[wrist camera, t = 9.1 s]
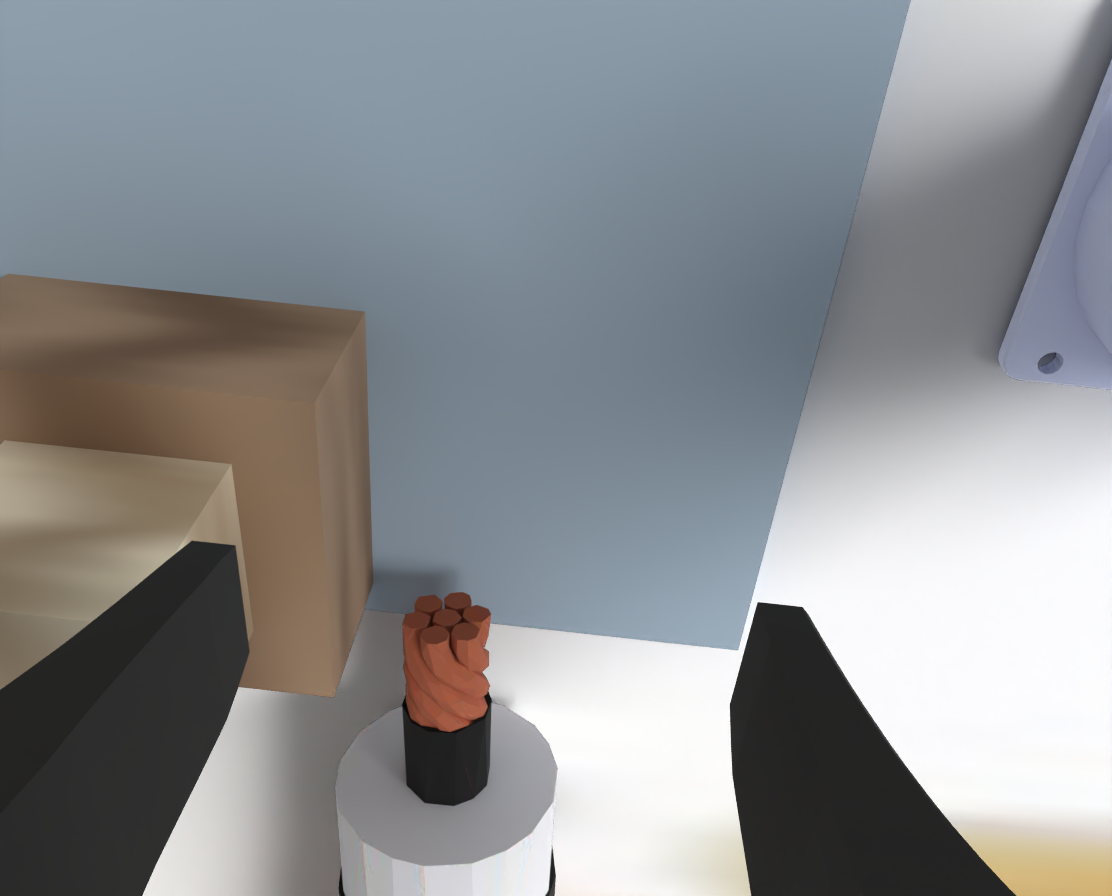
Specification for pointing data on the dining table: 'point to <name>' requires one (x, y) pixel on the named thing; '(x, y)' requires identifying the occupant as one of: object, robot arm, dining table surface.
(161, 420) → the walnut base
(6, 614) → the maple cube
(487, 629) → the cable
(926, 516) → the dining table surface
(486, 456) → the mat
